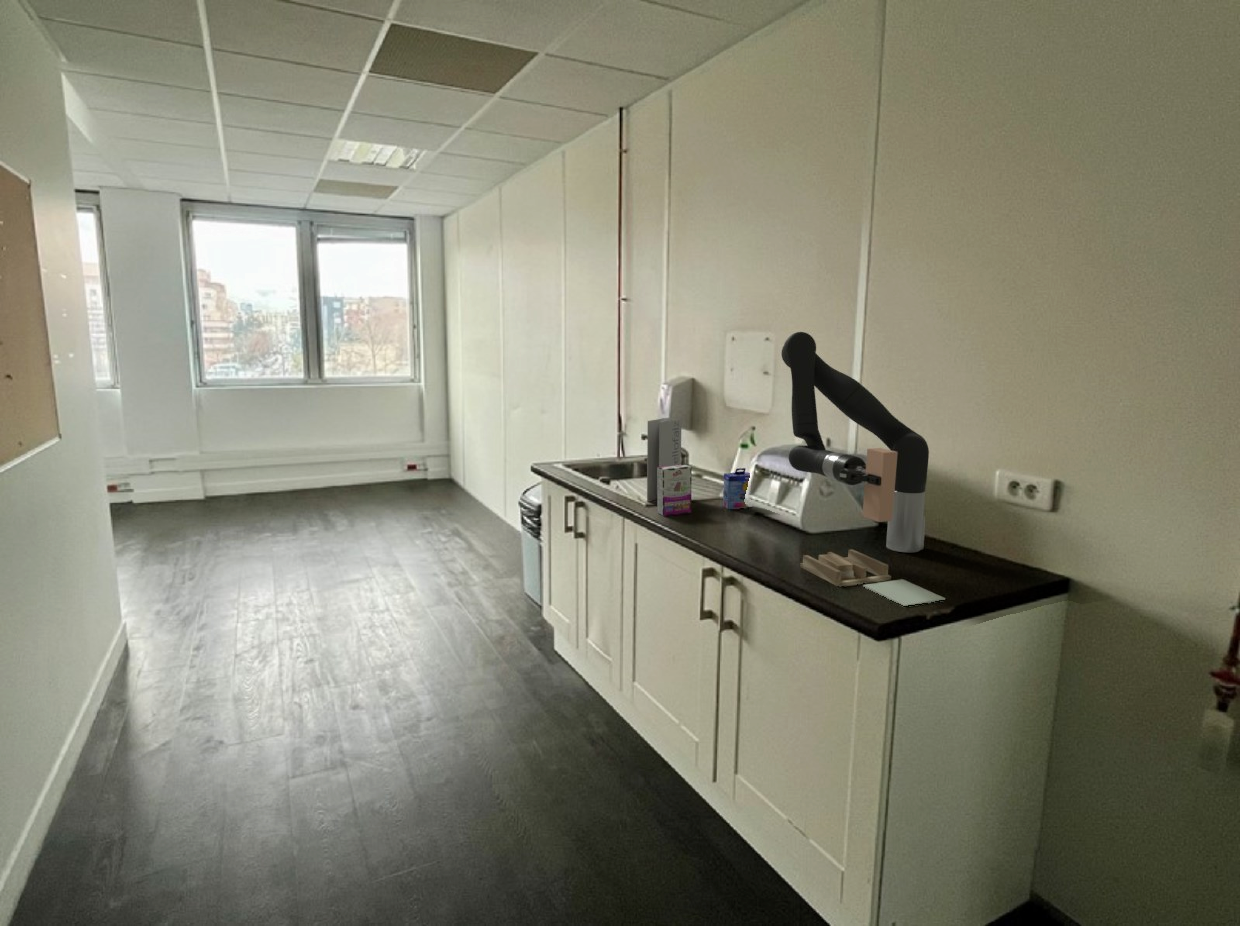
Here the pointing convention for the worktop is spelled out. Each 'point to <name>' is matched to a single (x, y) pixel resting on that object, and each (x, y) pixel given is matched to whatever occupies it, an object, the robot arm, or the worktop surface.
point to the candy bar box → (674, 490)
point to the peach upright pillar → (882, 496)
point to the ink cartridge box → (735, 489)
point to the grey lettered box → (662, 450)
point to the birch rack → (859, 567)
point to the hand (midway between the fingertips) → (887, 480)
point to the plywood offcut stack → (839, 565)
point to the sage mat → (903, 592)
